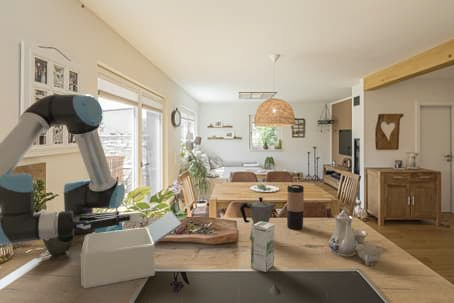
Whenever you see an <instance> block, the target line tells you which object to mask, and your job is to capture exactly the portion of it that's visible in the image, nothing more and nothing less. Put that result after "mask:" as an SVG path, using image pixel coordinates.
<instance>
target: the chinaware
mask: <svg viewBox="0 0 454 303" xmlns="http://www.w3.org/2000/svg"><path fill="white" fill-rule="evenodd" d="M334 218H335V228H334V232H333V233H332V235H331V236H330V238H329V240H328V242H327V245H328V248H330V251H331V253H333V254H335V255H337V256H340V257H353V256H355V255H356V252H357V255H358V257H359V258H360V259H361V260H362V262H363V263H364V264H365V265H366V266H373V264H375V263H377V262H378V261H379V260H380V259H381V256H382V254H383V252H384V249H383V248H382V247H377V246H376V245H374V244H370V243H367V244H362V243H363V242H364V241H365V239H366V236H368V233H367V232H366V231H365V230H364V229H355V228H352V221H353V220H354V217H353V216H351V215H349V213H347V211H346V210H345V209H342V211H341V212H339V214H335V215H334Z"/></svg>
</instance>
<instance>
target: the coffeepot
mask: <svg viewBox="0 0 454 303" xmlns="http://www.w3.org/2000/svg"><path fill="white" fill-rule="evenodd" d="M258 200H259V201H255V202H249V203H247V202H244V203H242V204H241V205H240V207H239V209H240V210H239V211H240V212H241V216H242V219H243V222H244V223H246V224H248V223H250V220H249V219H247V215H246V211H245V208H246V209H250V215H251V220H252V225H254V224H256V223H258V222H268V223H270V219H271V214H272V212H273V210H274V209H275V208H276V207H277V205H276V204H275V203H270V202H265V201H263V200H264V197H262V196H261V197H258ZM252 225H251V226H252ZM249 240H250V242H251V241H252V228H251V230H250V236H249Z"/></svg>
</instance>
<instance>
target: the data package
mask: <svg viewBox="0 0 454 303" xmlns="http://www.w3.org/2000/svg"><path fill="white" fill-rule="evenodd" d="M119 230H123V222H122V223H119V226H117V225H116V226H109V227H104V228H98V229H95V230H94V233H102V232H110V231H119Z"/></svg>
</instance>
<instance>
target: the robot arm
mask: <svg viewBox="0 0 454 303" xmlns="http://www.w3.org/2000/svg"><path fill="white" fill-rule="evenodd" d="M100 103H101V102H99V100H98V99H97V98H96V97H95V96H93V95H90V94H82V93H77V94H50V95H46V96H44V97H42V98H40V99H38V100H37V101H35V102H34V103H33V104H31V105H30V106H28V107H27V109H25V110H24V111H23V113H21V115H20V117H19V119H20V120H19V122H18V123H17V124H16V125H15V127H13V129H12V130H10V132H9V133H8V134H7V135H6V136H5V138H4V139H3V140H2V141H0V210H1V211H0V214H1V215H0V245H3V244H4V245H5V244H16V243H17V244H18V243H24V242H30V241H31V242H33V241H39V240H43V239H45V240H49V238H56V237H57V235H58V236H59V237H66V236H72V235H73V234H74V236H77V235H78V236H79V235H83V234H84V235H86V234H90V233H92V232H95V229H98V228H104V227H109V226H116V225H117V226H119V223H122V224H123V223H127V222H128V223H129V222H130V223H131V222H138V221H139V222H140V221H141V211H139V210H138V211H129V212H120V211H119V210H116V211H112V212H111V211H110V212H94V210H93V209H105V210H107V209H109V210H111V209H118V208H119V207H120V206H122V203H123V201H124V198H125V194H126V193H125V192H126V188H125V185H124V183H122V182H118V180H117V178H116V176H115V175H112V172H111V169H110V166H109V162H108V160H107V157H106V153H105V150H104V148H103V145H102V141H101V138H100V135H99V132H98V130H99V129H100V127H101V123H102V121H103V109H102V106H101V104H100ZM56 126H66V131H67V132H68V134H69V135H72V136H73V137H74V138H75V142H76V144H77V147H78V150H79V152H80V156H81V158H82V160H83V163H84V166H85V169H86V171H87V172H86V173H87V174H88V177H89V179H80V180H73V181H70V182H66V183H65V184H64V187H63V201H64V202H63V203H64V210H63V211H59V212H58V211H52V212H42V213H40V212H39V213H35V200H34V199H35V187H34V179H33V175H31V174H30V173H27V172H21V173H17V172H16V173H12V172H13V171H14V169H15V168H16V167H17V166H18V165H19V163H20V162H21V161H22V160H23V158H24V157H25V156H26V155H27V153H28V152H29V151H30V149H31V148H32V147H33V145H34V144H35V143H36V142H37V140H38V139H39V138H40V136H42V134H45V133H47V132H48V131H49V130H50V129H51V128H52V127H56Z"/></svg>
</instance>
